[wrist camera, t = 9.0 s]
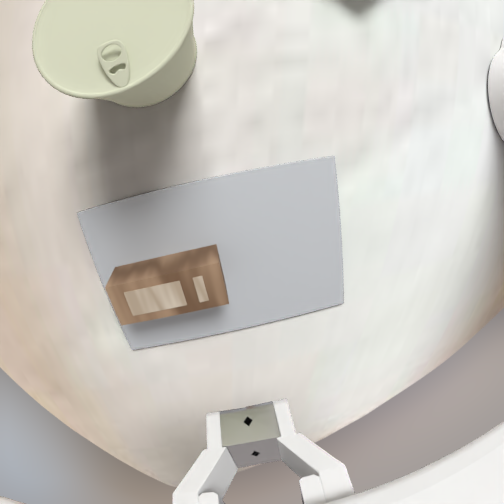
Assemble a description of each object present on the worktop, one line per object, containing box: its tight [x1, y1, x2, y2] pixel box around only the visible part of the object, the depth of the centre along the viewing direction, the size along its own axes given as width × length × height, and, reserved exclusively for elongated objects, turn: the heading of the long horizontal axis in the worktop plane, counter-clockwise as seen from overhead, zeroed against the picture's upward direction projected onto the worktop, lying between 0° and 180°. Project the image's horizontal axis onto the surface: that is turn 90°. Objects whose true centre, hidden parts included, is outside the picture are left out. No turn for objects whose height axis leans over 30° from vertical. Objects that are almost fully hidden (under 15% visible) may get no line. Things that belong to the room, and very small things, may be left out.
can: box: [32, 0, 197, 107], centre depth 16 cm, size 9×9×12 cm
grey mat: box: [77, 156, 344, 350], centre depth 30 cm, size 24×16×1 cm, turn 100°
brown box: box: [105, 244, 229, 326], centre depth 28 cm, size 4×4×10 cm
